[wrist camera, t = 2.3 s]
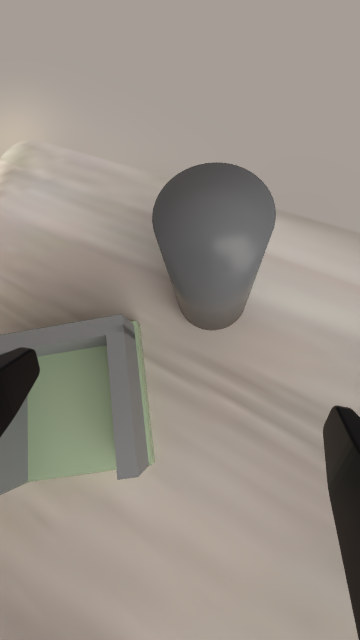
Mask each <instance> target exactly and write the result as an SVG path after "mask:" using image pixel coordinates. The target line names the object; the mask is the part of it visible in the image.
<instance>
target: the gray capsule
mask: <svg viewBox="0 0 360 640" xmlns="http://www.w3.org/2000/svg"><path fill="white" fill-rule="evenodd" d="M275 218H276V211H275V204H274V200H273V197H272V195H271V193H270V191H269V190H268V188H267V186H266V185H265V184H264V183H263V182H262V180H260V179H259V178H258V177H257V176H256V175H254V174H253V173H252V172H250V171H248V170H246V169H244V168H242V167H239V166H236V165H232V164H227V163H205V164H201V165H197V166H194V167H191V168H189V169H186V170H184V171H182V172H181V173H179V174H177V175H176V176H175V177H173V178H172V179H171V180H170V181H169V182H168V183H167V184H166V185H165V186H164V188H163V189H162V190H161V192H160V193H159V195H158V197H157V199H156V202H155V205H154V208H153V216H152V222H153V229H154V232H155V236H156V239H157V241H158V244H159V247H160V250H161V253H162V256H163V259H164V262H165V265H166V268H167V270H168V273H169V276H170V279H171V282H172V285H173V288H174V291H175V294H176V297H177V299H178V302H179V305H180V308H181V311H182V313H183V315H184V316H185V317H186V319H187V320H188V321H189V322H190V323H192V324H193V325H195V326H197V327H199V328H201V329H205V330H219V329H223V328H226V327H228V326H230V325H231V324H233V323H234V322H235V321H236V320H237V319H238V318H239V317H240V316H241V314H242V312H243V310H244V307H245V305H246V302H247V299H248V297H249V294H250V291H251V288H252V286H253V283H254V280H255V277H256V275H257V272H258V269H259V267H260V264H261V261H262V258H263V256H264V253H265V250H266V248H267V245H268V242H269V239H270V237H271V234H272V231H273V229H274V225H275Z"/></svg>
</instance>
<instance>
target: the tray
mask: <svg viewBox="0 0 360 640" xmlns="http://www.w3.org/2000/svg"><path fill="white" fill-rule="evenodd" d="M19 347H26V348H31V349H34V350H35V351H36V354H37V358H38V362H39V366H40V373H39V376H38V378H37V380H36V382H35V383H34V385H33V387H32V388H31V390H30V392H29V394H28V395H27V397H26V399H25V401H24V402H23V404H22V406H21V408H20V409H19V411H18V413H17V414H16V416H15V417H14V419H13V420H12V422H11V423H10V425H9V426H8V428H7V429H6V430H5V432H4V433H3V435H2V436H1V437H0V495H1V494H3V493H5V492H7V491H9V490H12V489H14V488H16V487H18V486H20V485H22V484H25V483H27V482H31V481H38V480H45V479H53V478H60V477H67V476H74V475H82V474H89V473H96V472H103V471H110V470H117V479H118V480H119V479H126V478H134V477H139V475H140V474H141V473H142V472H143V471H144V470H145V469H146V468H147V467H148V466H149V465H152V464H153V463H154V462H155V460H154V451H153V442H152V433H151V424H150V415H149V406H148V397H147V388H146V379H145V371H144V362H143V353H142V344H141V335H140V326H139V323H138V322H137V321H131V322H130V321H129V320H128V319H127V318H126V317H125V316H124V315H123V314H120V315H114V316H108V317H102V318H96V319H90V320H85V321H79V322H73V323H67V324H61V325H55V326H50V327H44V328H38V329H32V330H26V331H20V332H14V333H9V334H3V335H0V355H1V354H4V353H7V352H9V351H12V350H14V349H17V348H19Z"/></svg>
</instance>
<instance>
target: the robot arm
mask: <svg viewBox="0 0 360 640" xmlns="http://www.w3.org/2000/svg"><path fill="white" fill-rule="evenodd" d="M39 373H40V366H39V362H38V358H37V354H36V351H35V350H34V349H31V348H26V347H19V348H17V349H14V350H12V351H9V352H7V353H4V354H1V355H0V437H1V436H2V435H3V433H4V432H5V430H6V429H7V428H8V426H9V425H10V423H11V422H12V420H13V419H14V417H15V416H16V414H17V413H18V411H19V409H20V408H21V406H22V404H23V402H24V401H25V399H26V397H27V395H28V394H29V392H30V390H31V388H32V387H33V385H34V383H35V382H36V380H37V378H38V376H39ZM323 438H324V449H325V461H326V472H327V482H328V490H329V496H330V501H331V506H332V511H333V515H334V520H335V525H336V530H337V535H338V540H339V545H340V550H341V555H342V560H343V564H344V569H345V574H346V579H347V584H348V589H349V594H350V599H351V604H352V609H353V613H354V618H355V623H356V628H357V633H358V638H359V640H360V417H359V416H358V415H357V414H356V413H355V412H354V411H353V410H352V409H350V408H348V407H342V406H334V407H333V408H332V409H331V411H330V413H329V416H328V418H327V420H326V422H325V424H324V428H323Z"/></svg>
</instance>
